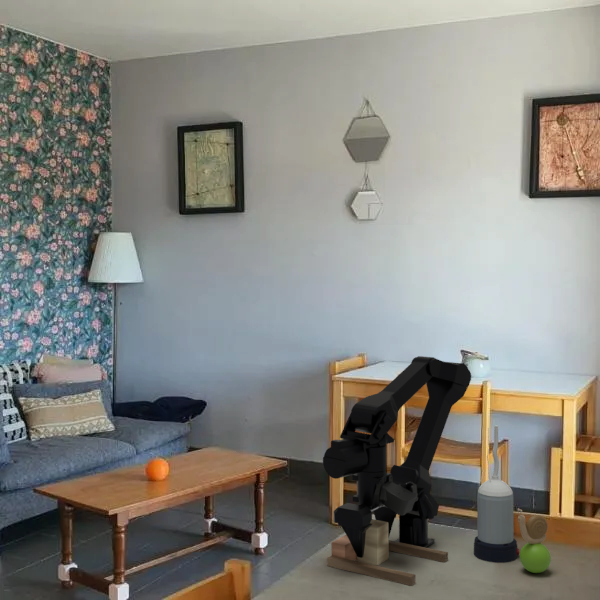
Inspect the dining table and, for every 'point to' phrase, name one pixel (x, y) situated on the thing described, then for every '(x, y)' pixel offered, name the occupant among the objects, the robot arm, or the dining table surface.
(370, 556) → the block
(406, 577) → the guide track
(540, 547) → the snail figurine
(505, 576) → the dining table surface
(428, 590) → the dining table surface
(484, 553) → the humidifier
